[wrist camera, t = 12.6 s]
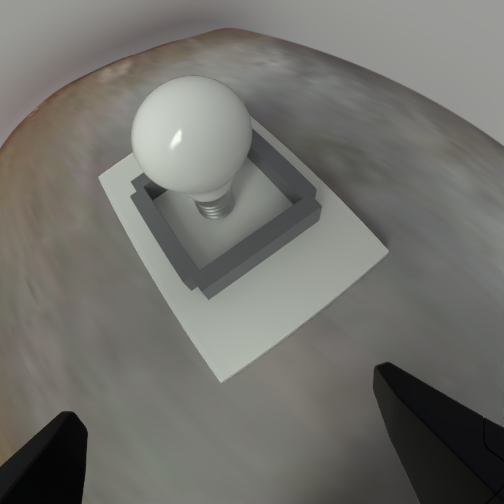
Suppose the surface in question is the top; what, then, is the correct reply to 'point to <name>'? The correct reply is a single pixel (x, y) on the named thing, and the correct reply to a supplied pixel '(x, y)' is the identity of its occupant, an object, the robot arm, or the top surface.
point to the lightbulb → (193, 140)
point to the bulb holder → (245, 251)
